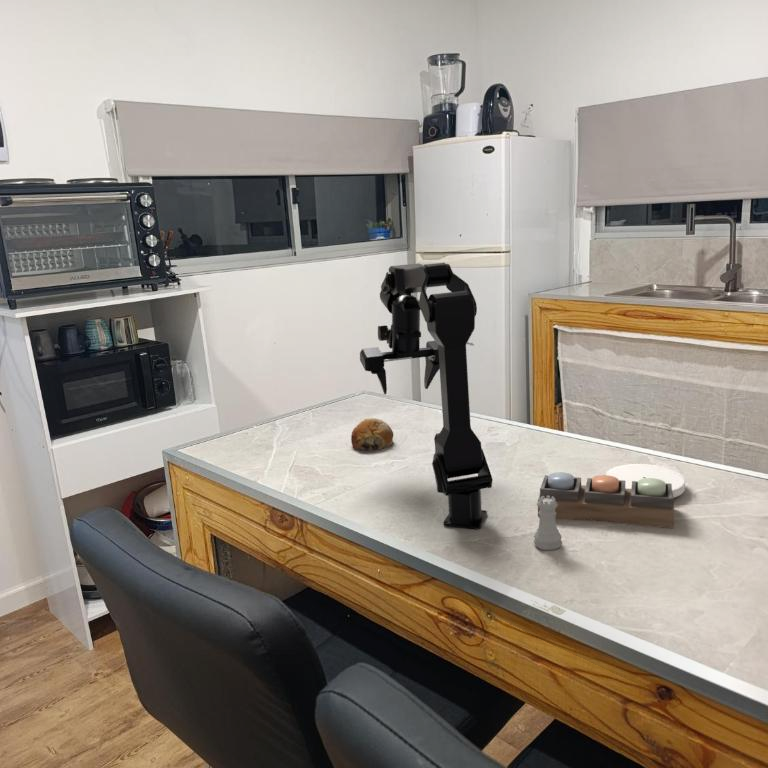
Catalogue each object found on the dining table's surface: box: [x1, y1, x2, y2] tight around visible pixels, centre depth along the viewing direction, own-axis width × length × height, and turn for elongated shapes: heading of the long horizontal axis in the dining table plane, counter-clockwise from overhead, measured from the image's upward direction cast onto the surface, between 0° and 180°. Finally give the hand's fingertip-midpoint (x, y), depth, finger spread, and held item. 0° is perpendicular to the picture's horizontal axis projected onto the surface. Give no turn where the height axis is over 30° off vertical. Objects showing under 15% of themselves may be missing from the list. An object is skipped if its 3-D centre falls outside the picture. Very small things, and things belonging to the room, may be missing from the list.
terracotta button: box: [592, 474, 619, 493], centre depth 122 cm, size 4×4×2 cm
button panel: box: [537, 474, 675, 529], centre depth 123 cm, size 8×22×5 cm, turn 70°
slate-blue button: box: [547, 471, 574, 490], centre depth 125 cm, size 4×4×2 cm
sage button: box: [638, 478, 666, 497], centre depth 119 cm, size 4×4×2 cm
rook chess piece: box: [533, 496, 563, 551], centre depth 112 cm, size 4×4×8 cm
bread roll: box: [350, 417, 394, 452], centre depth 166 cm, size 10×10×8 cm
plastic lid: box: [604, 463, 686, 499], centre depth 131 cm, size 14×14×2 cm
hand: (405, 390), depth 152 cm, fingers open, 9 cm apart
